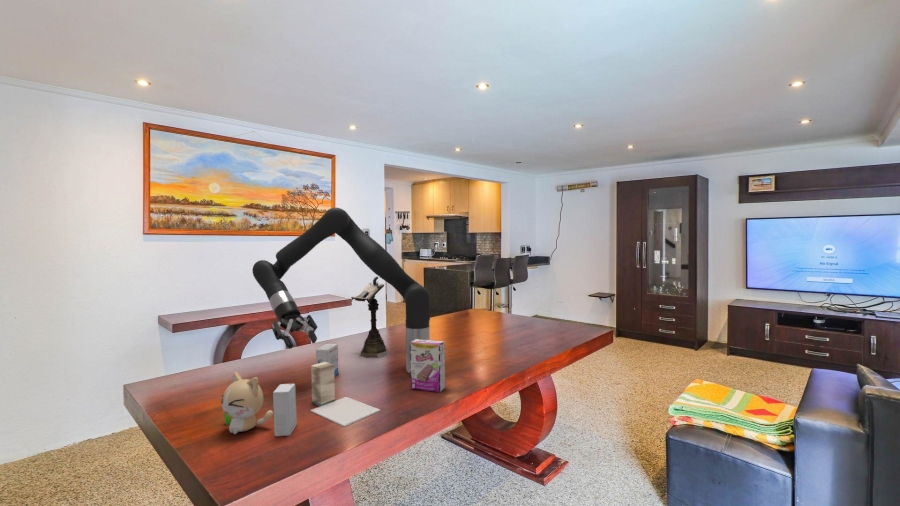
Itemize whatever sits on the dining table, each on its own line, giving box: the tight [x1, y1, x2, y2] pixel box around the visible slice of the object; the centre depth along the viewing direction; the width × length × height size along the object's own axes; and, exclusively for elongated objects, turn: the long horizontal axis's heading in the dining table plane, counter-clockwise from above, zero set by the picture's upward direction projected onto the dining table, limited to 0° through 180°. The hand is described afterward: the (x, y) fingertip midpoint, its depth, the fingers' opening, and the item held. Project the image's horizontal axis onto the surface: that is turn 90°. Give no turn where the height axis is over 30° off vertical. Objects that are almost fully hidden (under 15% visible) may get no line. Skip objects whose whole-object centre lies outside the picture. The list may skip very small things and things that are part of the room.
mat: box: [310, 396, 381, 428], centre depth 124 cm, size 16×13×1 cm
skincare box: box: [272, 383, 298, 437], centre depth 112 cm, size 6×4×12 cm
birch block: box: [310, 362, 336, 407], centre depth 131 cm, size 5×5×12 cm
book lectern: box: [350, 276, 388, 359], centre depth 181 cm, size 17×13×35 cm
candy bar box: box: [410, 339, 446, 393], centre depth 141 cm, size 11×5×16 cm, turn 71°
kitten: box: [220, 371, 274, 435], centre depth 113 cm, size 15×10×15 cm
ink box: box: [315, 343, 339, 377], centre depth 154 cm, size 9×5×12 cm, turn 168°
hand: (303, 344), depth 137 cm, fingers open, 8 cm apart
